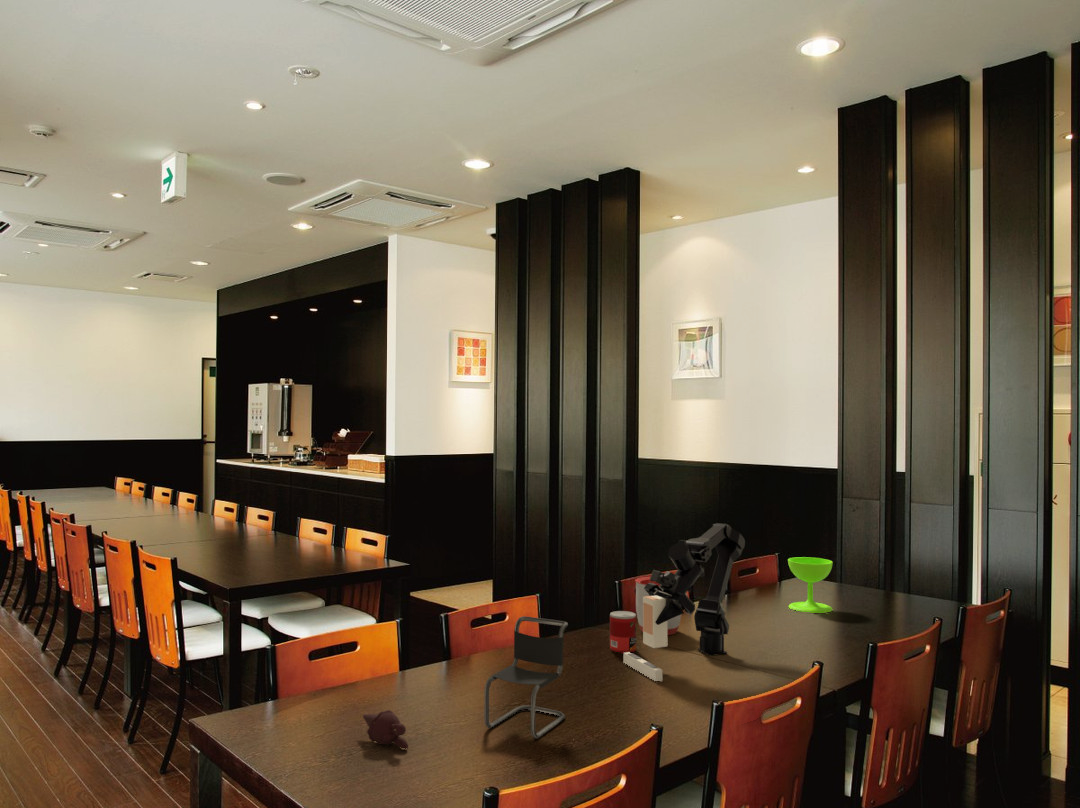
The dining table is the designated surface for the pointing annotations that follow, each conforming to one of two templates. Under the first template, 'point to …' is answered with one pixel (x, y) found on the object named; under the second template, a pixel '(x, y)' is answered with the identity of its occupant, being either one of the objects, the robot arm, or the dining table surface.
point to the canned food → (623, 631)
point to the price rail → (643, 666)
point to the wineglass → (810, 581)
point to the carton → (654, 622)
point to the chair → (536, 652)
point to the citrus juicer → (640, 593)
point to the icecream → (385, 728)
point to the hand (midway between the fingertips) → (651, 621)
